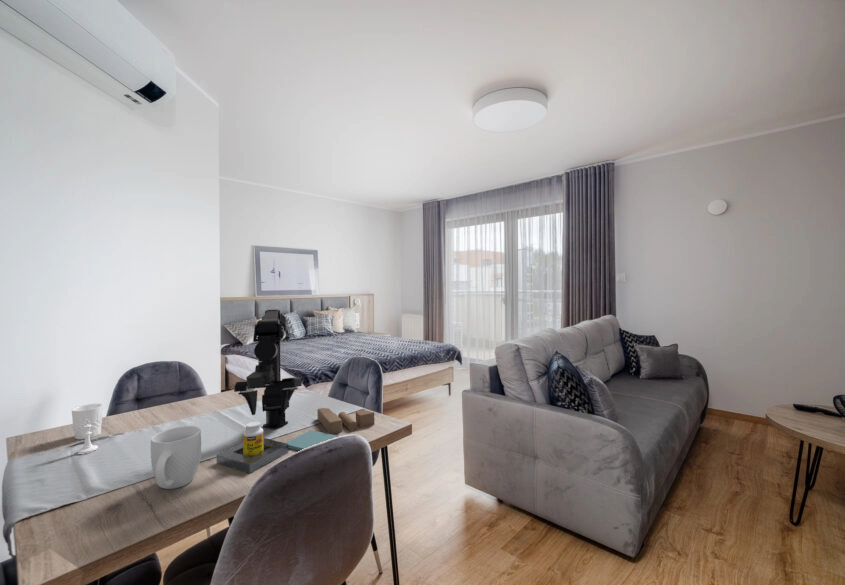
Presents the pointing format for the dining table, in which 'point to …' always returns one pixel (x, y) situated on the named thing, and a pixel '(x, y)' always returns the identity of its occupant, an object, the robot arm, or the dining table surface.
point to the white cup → (82, 414)
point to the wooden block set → (344, 420)
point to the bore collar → (248, 464)
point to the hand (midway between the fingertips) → (268, 414)
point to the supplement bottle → (253, 439)
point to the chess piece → (87, 439)
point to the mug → (176, 456)
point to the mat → (308, 439)
